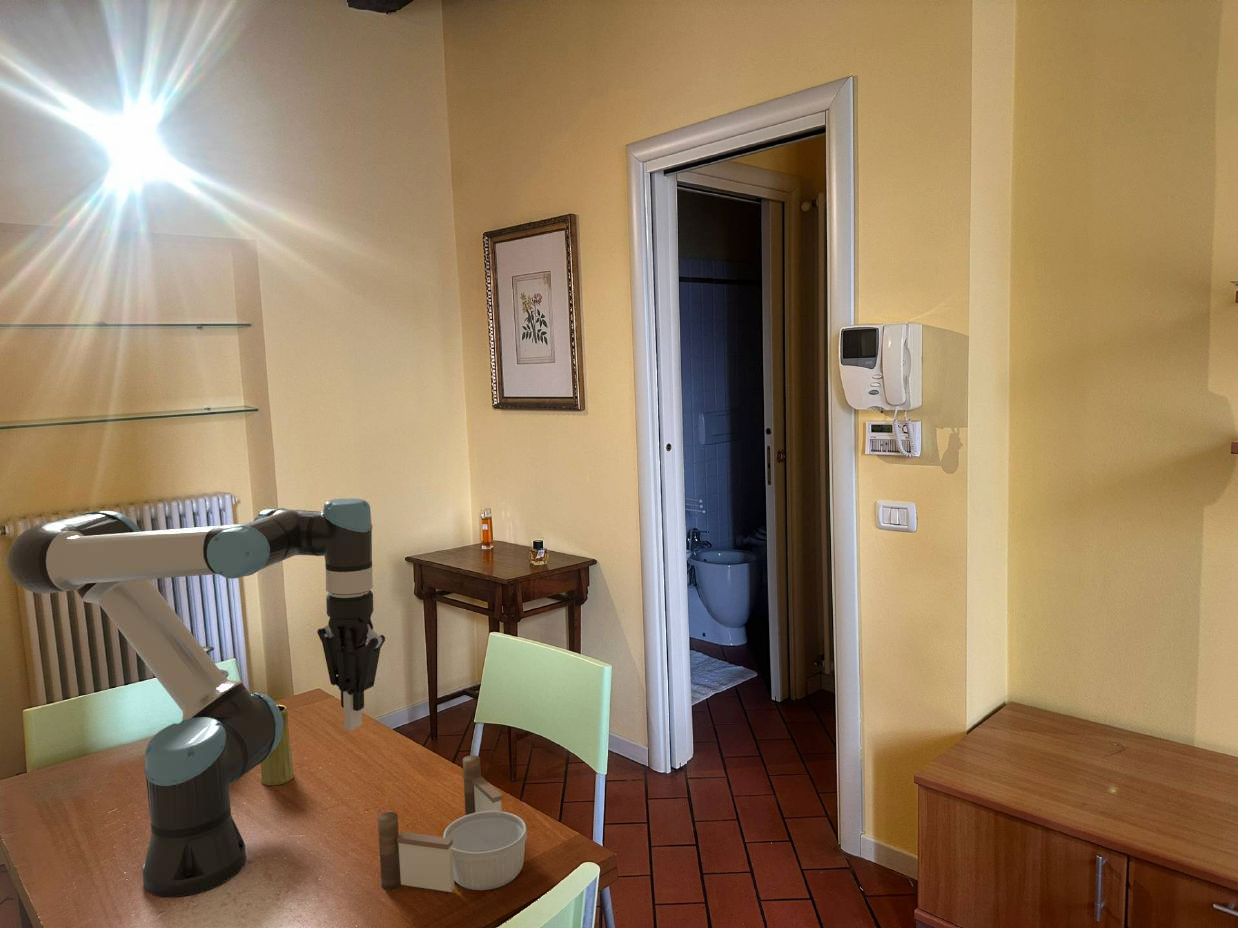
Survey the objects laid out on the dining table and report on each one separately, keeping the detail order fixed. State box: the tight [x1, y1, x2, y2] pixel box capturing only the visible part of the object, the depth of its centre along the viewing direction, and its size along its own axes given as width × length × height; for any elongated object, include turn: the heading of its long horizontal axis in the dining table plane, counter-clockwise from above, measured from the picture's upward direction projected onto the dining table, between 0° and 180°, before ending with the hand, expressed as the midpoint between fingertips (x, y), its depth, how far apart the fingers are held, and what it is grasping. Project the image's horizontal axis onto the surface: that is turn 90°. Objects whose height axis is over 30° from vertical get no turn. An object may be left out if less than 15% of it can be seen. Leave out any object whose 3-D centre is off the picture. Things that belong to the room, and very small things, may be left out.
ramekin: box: [442, 810, 528, 891], centre depth 142 cm, size 13×13×7 cm
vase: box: [260, 704, 295, 787], centre depth 176 cm, size 6×6×14 cm
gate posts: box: [377, 754, 482, 890], centre depth 149 cm, size 25×3×11 cm, turn 154°
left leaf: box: [397, 831, 455, 893], centre depth 137 cm, size 8×2×8 cm, turn 74°
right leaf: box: [472, 775, 504, 813], centre depth 153 cm, size 8×2×8 cm, turn 33°
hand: (353, 726), depth 152 cm, fingers closed
